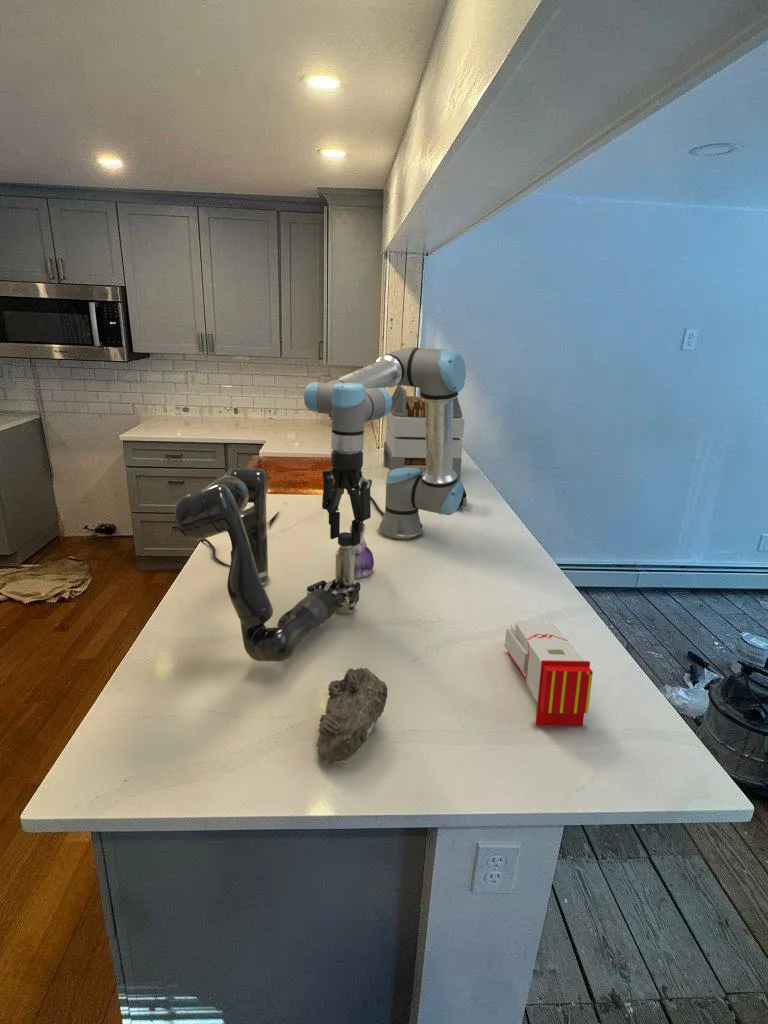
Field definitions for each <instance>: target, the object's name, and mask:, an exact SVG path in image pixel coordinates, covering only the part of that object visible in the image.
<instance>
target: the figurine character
mask: <svg viewBox="0 0 768 1024" xmlns="http://www.w3.org/2000/svg"><path fill="white" fill-rule="evenodd" d="M467 503H468V498H467V492H466V489H465V488H464V490H463V496H462V499H461V502H460V504H459V506H458V508H457V509H460V511H463V507H464V508H465V507H467Z"/></svg>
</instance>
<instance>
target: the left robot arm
mask: <svg viewBox="0 0 768 1024" xmlns="http://www.w3.org/2000/svg"><path fill="white" fill-rule="evenodd" d="M267 490H268V479H267V474H266V471H265V469H263V468H258V467H254V468H253V467H233V468H230V469H228V470H227V471H226V472H225V473H224V475H223V476H221V477H219V478H217V479H215V480H214V481H212V482H211V483H209V484H208V485H206V486H205V487H204V488H202V489H198V490H196V491H193V492H189V493H187V494H184V495H183V496H181V497H180V498H179V499H178V500H177V502H176V504H175V506H174V519H175V520H174V521H175V524H176V526H177V528H178V529H179V531H180V533H181V534H182V535H183V536H185V537H186V538H187V539H190V540H193V541H200V542H201V543H203V541H204V542H206V543H207V545H209V546H210V548H211V549H212V557H213V559H214V560H215V561H216V562H217V563H218V564H220V565H221V566H224V567H226V568H229V569H228V571H229V572H228V574H227V575H228V576H227V583H226V584H227V586H226V587H227V594H228V597H229V600H230V602H231V604H232V606H233V608H234V611H235V612H236V615H237V617H238V619H239V622H240V630H241V636H242V643H243V647H244V650H245V652H246V653H247V655H248V656H249V657H250V658H251V659H252V660H254V661H255V662H256V661H257V662H278V663H279V662H283V661H286V660H288V659H290V658H291V657H292V656H294V654H295V653H296V651H297V650H298V648H299V646H300V645H301V643H302V641H303V640H304V638H306V636H308V635H309V634H311V633H312V632H313V631H315V630H316V629H318V628H320V627H321V626H322V625H323V624H324V623H326V622H327V621H328V620H330V619H331V618H332V617H333V616H334V615H335V614H336V613H337V612H336V610H337V609H338V608H341V607H343V606H349V609H350V610H353V611H354V610H355V608H356V606H357V604H358V603H359V601H360V591H361V589H362V588H361V587H362V585H361V581H360V582H359V581H356V582H354V585H352V586H351V587H350V588H348V589H345V588H343V589H340V590H338V591H337V590H335V578H334V579H333V580H329V581H328V582H326V581H327V580H324V579H323V580H319V581H318V582H315V583H313V584H311V585H308V586H307V587H306V596H304V598H302V599H301V600H299V601H298V602H297V603H296V604H295V605H294V606H293V607H291V608H289V609H288V610H287V611H286V612H284V613H283V614H282V615H281V616H280V617H279V619H278V621H277V625H276V627H267V626H266V625H265V623H267V622H268V621H269V620H270V619H271V618H272V616H273V614H274V609H273V605H272V603H271V600H270V598H269V596H268V593H267V591H266V590H265V586H266V585H267V584H268V583H269V581H270V580H269V579H270V577H269V554H268V553H269V552H268V549H269V548H268V524H267V523H268V522H267V521H268V520H267V492H268V491H267ZM248 503H249V504H253V505H251V507H249V508H246V507H247V505H248ZM245 508H246V509H245ZM226 532H227V533H228V536H229V539H230V543H231V551H230V565H229V564H227V563H225V562H223V561H221V560H220V559H219V558H218V557H217V556H216V547H215V546H214V545H213V544H212V542H211V541H210V540H208V538H210V537H214V536H217V535H220V534H222V533H226ZM349 592H350V593H349ZM342 593H343V594H342ZM348 593H349V595H348Z"/></svg>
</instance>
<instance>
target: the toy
mask: <svg viewBox="0 0 768 1024" xmlns="http://www.w3.org/2000/svg"><path fill="white" fill-rule="evenodd" d="M503 645H504V647H505V649H506V650H507V655H508V656H509V658H510V659H511V662H513V664H514V666H515V667H516V669H517V670H518V672H519V673H520V675H521V676H522V679H523V680H524V681H525V683H526V686H527V687H528V689H529V690H530V693H531V694H532V696H533V698H534V700H535V701H536V703H537V704H536V714H535V722H534V723H535V726H537V727H541V726H542V727H583V726H584V719H585V715H586V714H587V715H588V714H589V706H590V705H589V704H590V699H591V691H592V683H593V682H592V681H593V674H594V673H593V672H594V671H593V670H592V669H591V668H590V667H591V661H590V660H584V659H583V658H582V657H581V655H580V654H579V653H578V651H577V650H576V649H575V648H574V647H573V645H572V644H571V643H570V642H569V640H568V639H567V638H566V636H564V633H562V632H561V630H560V629H559V628H558V627H557V625H556V624H555V623H553V622H515V624H511V625H510V628H506V630H505V638H504V644H503Z"/></svg>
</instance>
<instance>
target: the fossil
mask: <svg viewBox="0 0 768 1024" xmlns="http://www.w3.org/2000/svg"><path fill="white" fill-rule="evenodd" d="M327 694H328V696H329V697H328V699H327V704H326V707H325V713H326V715H324V714H321V715H320V716H321V717H320V719H319V722H320V723H319V725H318V726H319V728H318V731H319V735H318V739H317V743H316V747H317V754H318V759H319V760H321V761H325V762H326V763H327V764H334V763H340V762H344V763H345V762H348V761H349V760H350V759H351V758H352V757H353V756H354V755H355V754H356V753H357V752H358V751H359V750H360V749H361V748H362V746H363V745H365V743H367V741H368V740H369V738H370V737H371V736H372V731H373V730H374V729H375V726H376V724H377V722H378V721H379V718H381V717H382V714H383V713H384V710H385V707H386V704H387V698H388V686H387V684H386V683H385V681H382V680H380V679H379V677H378V676H377V675H376V674H375V673H374V672H373V671H371V670H370V669H369V668H367V667H364V668H363V667H360V668H356V669H354V668H348V669H347V670H346V672H345V674H344V677H343V679H340V680H339V679H335V680H332V681H330V682H329V684H328V693H327Z"/></svg>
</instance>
